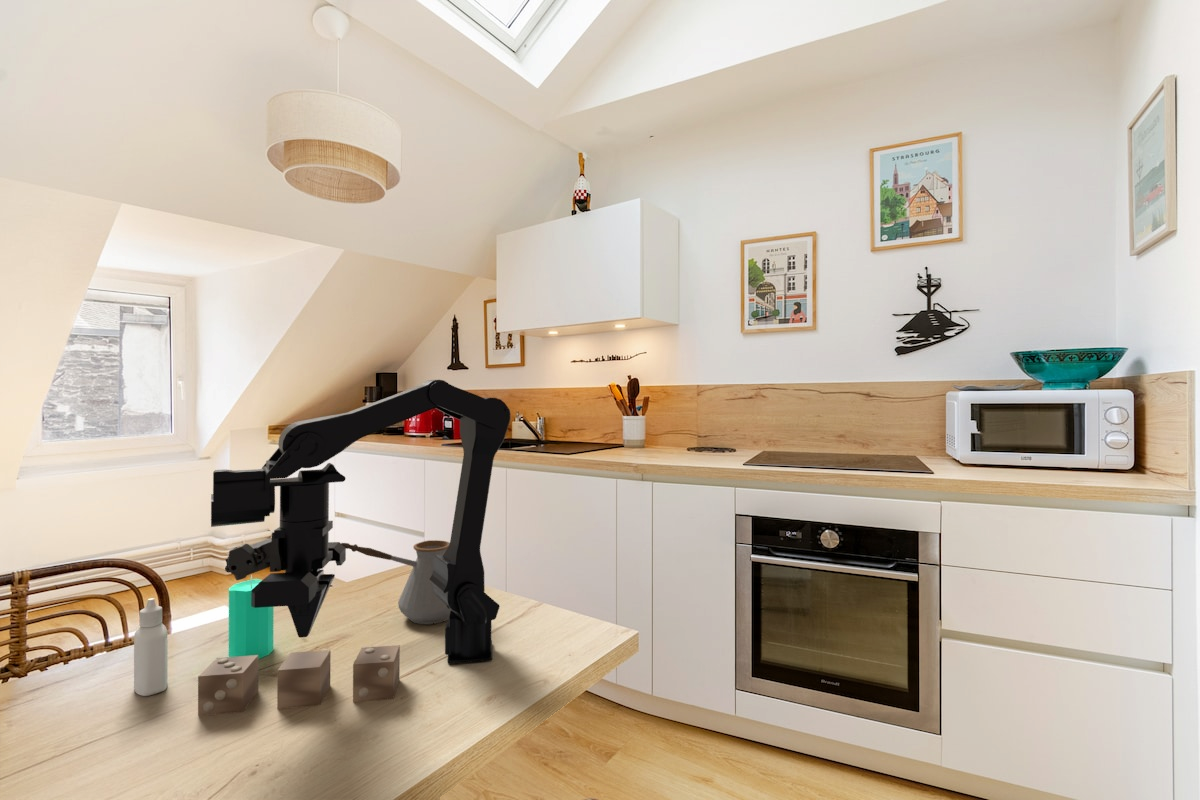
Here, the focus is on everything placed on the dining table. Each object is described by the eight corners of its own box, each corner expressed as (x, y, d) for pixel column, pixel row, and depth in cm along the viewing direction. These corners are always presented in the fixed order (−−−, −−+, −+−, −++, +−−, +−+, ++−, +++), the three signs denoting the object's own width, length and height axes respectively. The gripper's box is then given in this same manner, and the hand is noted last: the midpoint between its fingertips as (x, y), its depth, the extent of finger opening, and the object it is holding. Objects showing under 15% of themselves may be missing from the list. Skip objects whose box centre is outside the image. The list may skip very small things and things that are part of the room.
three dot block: (258, 692, 77) (258, 653, 77) (242, 713, 72) (242, 672, 72) (216, 695, 76) (216, 656, 76) (197, 717, 71) (197, 675, 71)
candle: (252, 664, 84) (252, 582, 84) (217, 659, 86) (218, 579, 86) (282, 646, 90) (283, 570, 90) (250, 642, 92) (250, 567, 91)
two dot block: (399, 680, 80) (399, 644, 80) (393, 700, 75) (393, 660, 75) (361, 683, 79) (361, 646, 79) (352, 703, 74) (352, 663, 74)
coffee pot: (454, 600, 111) (455, 523, 111) (472, 621, 101) (473, 536, 101) (333, 620, 101) (334, 535, 100) (339, 646, 91) (340, 551, 90)
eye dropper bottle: (177, 675, 81) (177, 590, 81) (162, 695, 75) (162, 604, 75) (140, 680, 79) (140, 593, 79) (121, 701, 74) (121, 608, 74)
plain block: (330, 686, 78) (330, 649, 78) (319, 705, 74) (319, 667, 74) (290, 689, 78) (290, 652, 77) (277, 709, 73) (277, 670, 73)
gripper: (264, 505, 83) (264, 613, 83) (200, 537, 65) (200, 675, 65) (346, 503, 85) (346, 608, 85) (307, 534, 67) (307, 667, 67)
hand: (303, 636), depth 75 cm, fingers closed
